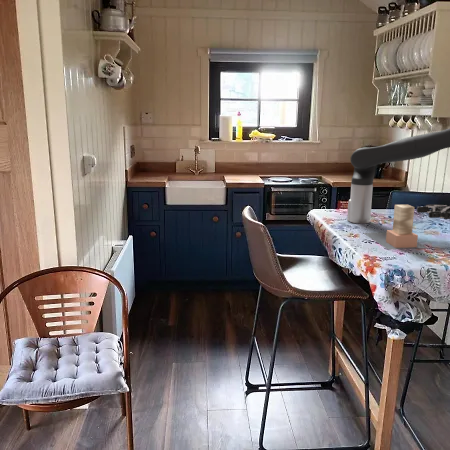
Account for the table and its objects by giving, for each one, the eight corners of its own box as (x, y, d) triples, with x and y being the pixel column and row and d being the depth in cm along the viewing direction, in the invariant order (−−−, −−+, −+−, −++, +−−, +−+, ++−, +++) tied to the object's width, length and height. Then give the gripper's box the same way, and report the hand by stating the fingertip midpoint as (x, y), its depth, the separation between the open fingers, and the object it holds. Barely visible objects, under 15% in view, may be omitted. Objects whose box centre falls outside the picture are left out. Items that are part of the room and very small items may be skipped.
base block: (395, 247, 165) (396, 235, 164) (385, 241, 173) (386, 230, 172) (416, 247, 166) (417, 235, 165) (406, 241, 174) (407, 229, 173)
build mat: (387, 251, 164) (387, 249, 164) (363, 234, 186) (363, 232, 186) (427, 249, 165) (428, 248, 165) (398, 233, 187) (398, 231, 187)
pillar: (398, 234, 166) (401, 207, 164) (392, 231, 171) (394, 204, 168) (411, 234, 166) (414, 207, 164) (405, 230, 171) (407, 204, 169)
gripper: (455, 197, 175) (414, 198, 173) (478, 204, 161) (434, 205, 159) (453, 216, 176) (412, 217, 175) (476, 225, 163) (432, 226, 161)
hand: (423, 212), depth 167 cm, fingers open, 8 cm apart
